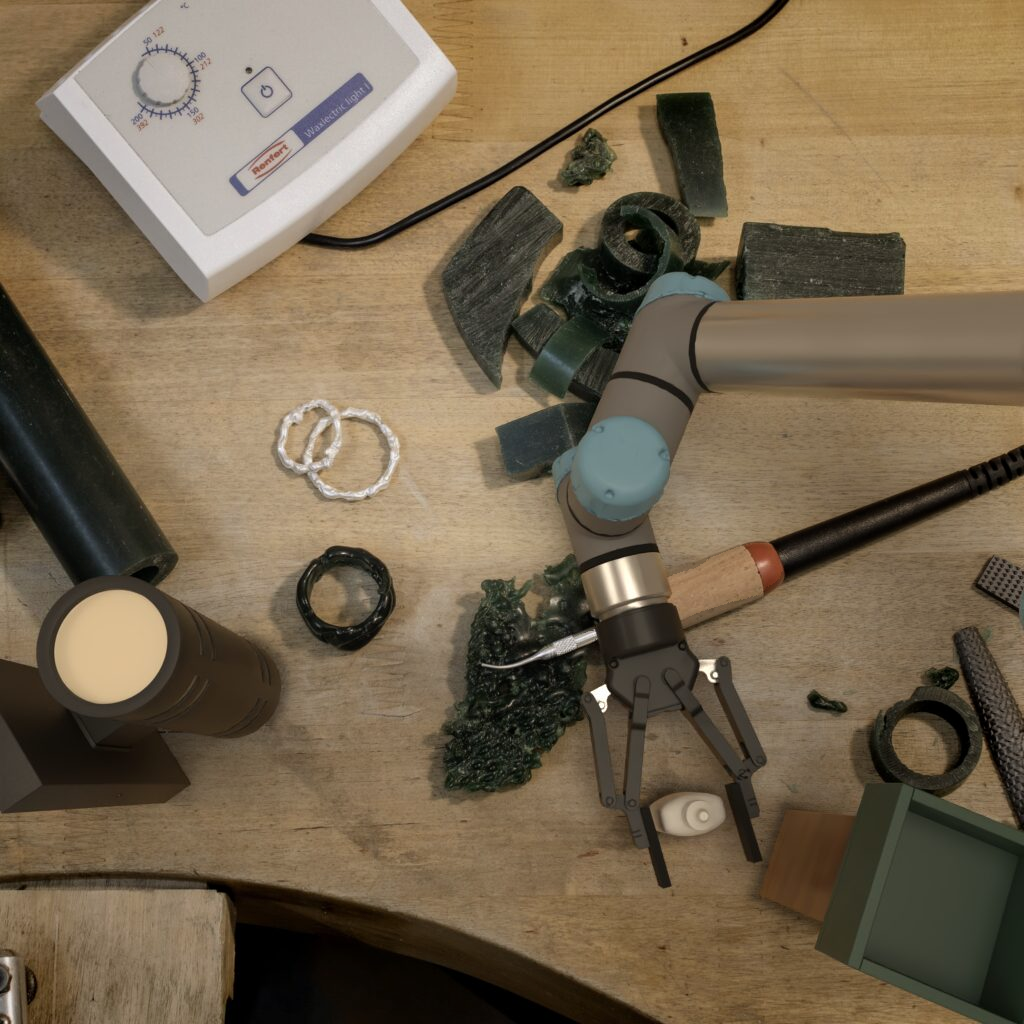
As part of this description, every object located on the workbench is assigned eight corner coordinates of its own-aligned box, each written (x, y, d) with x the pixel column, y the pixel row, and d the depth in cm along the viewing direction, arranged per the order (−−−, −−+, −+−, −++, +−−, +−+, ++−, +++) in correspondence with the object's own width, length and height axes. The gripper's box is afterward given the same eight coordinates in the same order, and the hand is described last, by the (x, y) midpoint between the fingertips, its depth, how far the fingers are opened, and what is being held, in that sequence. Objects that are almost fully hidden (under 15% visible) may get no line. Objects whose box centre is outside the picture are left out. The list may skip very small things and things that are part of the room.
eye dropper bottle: (701, 845, 96) (730, 854, 84) (642, 825, 96) (663, 831, 84) (714, 798, 97) (744, 800, 85) (655, 778, 97) (677, 778, 85)
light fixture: (304, 707, 98) (213, 671, 66) (166, 804, 96) (2, 815, 64) (244, 616, 100) (128, 538, 68) (107, 708, 98) (-80, 673, 66)
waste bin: (1027, 849, 72) (1081, 855, 65) (980, 1020, 69) (1032, 1045, 63) (866, 782, 73) (903, 782, 66) (813, 948, 70) (847, 965, 64)
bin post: (868, 843, 96) (995, 864, 72) (841, 930, 94) (962, 981, 70) (785, 808, 96) (883, 817, 72) (757, 894, 95) (847, 932, 70)
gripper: (731, 591, 98) (810, 839, 93) (523, 645, 97) (590, 900, 91) (750, 575, 91) (837, 844, 85) (525, 633, 89) (599, 911, 84)
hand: (709, 873), depth 88 cm, fingers open, 7 cm apart
